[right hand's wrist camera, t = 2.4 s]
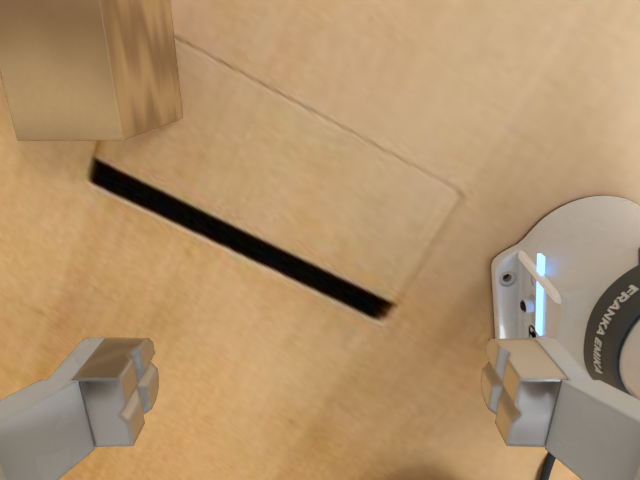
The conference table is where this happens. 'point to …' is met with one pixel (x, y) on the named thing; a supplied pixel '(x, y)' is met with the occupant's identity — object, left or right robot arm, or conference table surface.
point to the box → (88, 68)
